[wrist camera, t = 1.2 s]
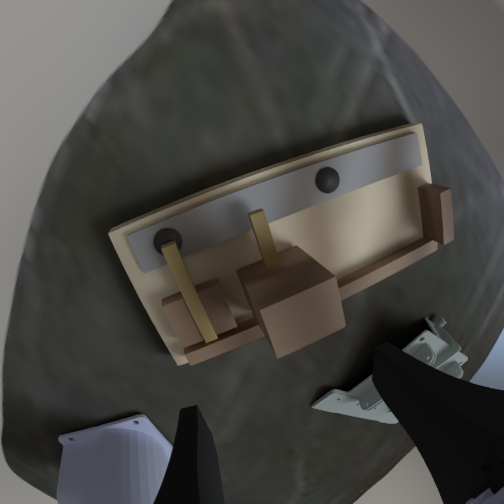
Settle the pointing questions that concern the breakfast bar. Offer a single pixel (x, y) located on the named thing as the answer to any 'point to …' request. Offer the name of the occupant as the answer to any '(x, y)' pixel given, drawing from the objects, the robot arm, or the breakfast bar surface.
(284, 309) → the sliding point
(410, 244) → the gauge board
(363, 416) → the metal bracket
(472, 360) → the breakfast bar surface
